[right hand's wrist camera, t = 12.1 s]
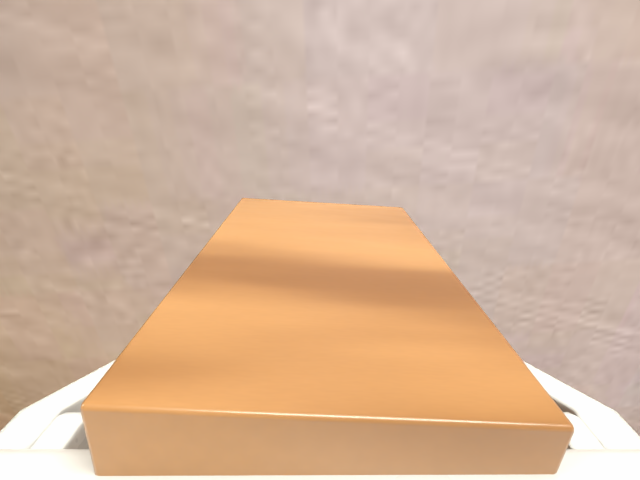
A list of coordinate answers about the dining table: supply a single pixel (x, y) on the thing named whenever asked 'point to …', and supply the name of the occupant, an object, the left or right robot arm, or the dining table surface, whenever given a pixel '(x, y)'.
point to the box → (320, 361)
